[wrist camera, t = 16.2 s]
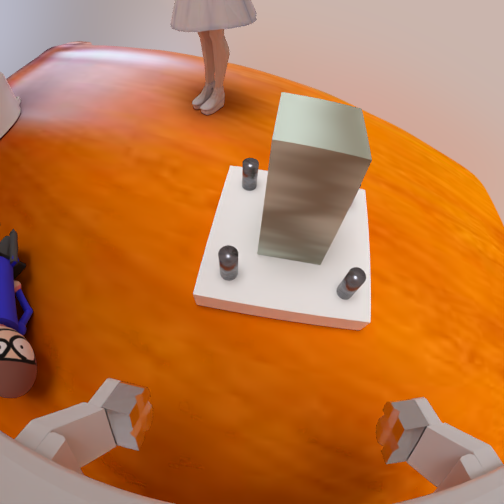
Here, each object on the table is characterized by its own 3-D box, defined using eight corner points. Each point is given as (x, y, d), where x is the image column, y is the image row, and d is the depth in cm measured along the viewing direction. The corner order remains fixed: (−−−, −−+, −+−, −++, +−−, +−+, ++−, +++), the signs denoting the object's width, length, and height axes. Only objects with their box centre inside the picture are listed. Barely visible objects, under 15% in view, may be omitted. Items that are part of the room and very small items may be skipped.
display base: (196, 304, 21) (187, 277, 17) (230, 181, 27) (230, 143, 23) (359, 330, 20) (386, 309, 16) (357, 204, 26) (374, 170, 22)
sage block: (257, 254, 21) (272, 139, 12) (266, 204, 23) (281, 92, 14) (320, 265, 21) (371, 160, 12) (322, 214, 23) (361, 108, 14)
